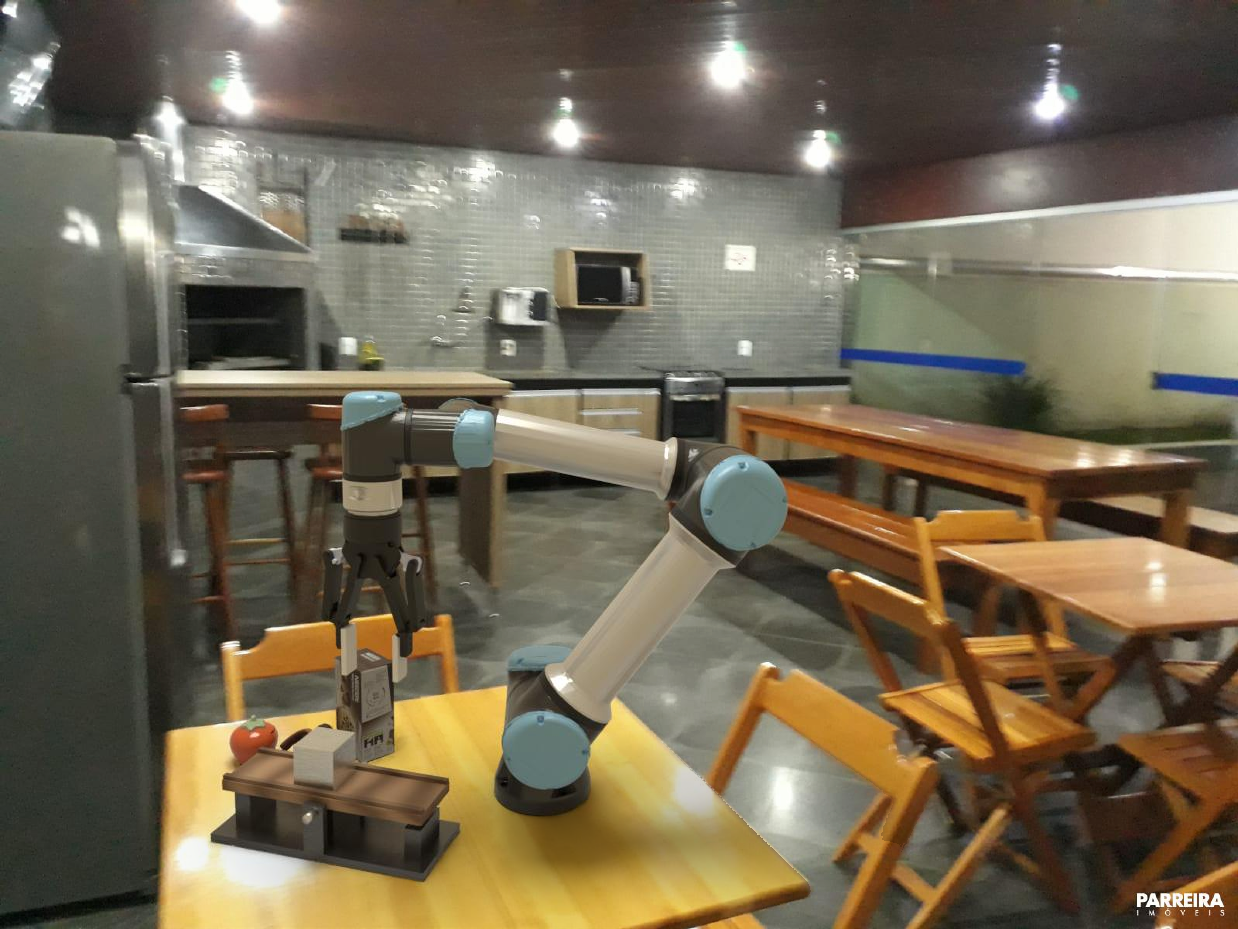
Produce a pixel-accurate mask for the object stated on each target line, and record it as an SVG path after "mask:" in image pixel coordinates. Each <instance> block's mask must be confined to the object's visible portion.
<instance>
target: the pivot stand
mask: <svg viewBox="0 0 1238 929" xmlns="http://www.w3.org/2000/svg"><path fill="white" fill-rule="evenodd" d="M359 763H362V764H368V761H367V762H366V761H361V762H360V761H359ZM368 765H369V764H368ZM234 808H235V809H234V810H235V812H234V813H233V814H232V815H231V816H230V817H229V818H228V819H227V820H225V821H223V822H222V824H220V825H219V826H218V827H216V829H214V830H213V831H212V832H211V833H210V842H211V843H217V844H222V845H227V846H232V845H234V847H238V848H244V849H249V850H253V851H254V850H255V851H260V852H264V853H270V854H275V855H280V856H285V857H291V858H297V859H300V860H307V861H312V862H316V863H323V864H328V865H332V866H337V867H344V868H348V869H354V870H360V871H363V872H364V871H365V872H369V873H375V874H380V875H386V876H391V877H395V878H401V879H406V880H407V879H408V880H412V881H418V882H422V883H424V882H425V880H426V878H427V877H428V876H429V874H430V873H431V871H432V870H433V869H434V868H435V866H436V865H437V863H438V861H439V860H440V859H441V857H443V855H444V853H445V852H446V851H447V849H448V848H449V847H450V845H451V844H452V843H453V841H454V840H455V838H456V837H457V836H458V834H459V833H460V831H461V823H460V822H455V821H450V820H443V819H441V818H440V815H441V814H440V811H441V810H440V807H439V806H437V807H436V808H435V810H434V811H433V812H432V813H431V815H430V816H429V817H428V818H427V820H426V821H425V822H424V823H423V825H422V826H417V825H412V824H406V823H401V822H395V821H390V820H384V819H379V818H373V817H368V816H362V815H357V814H351V813H346V812H341V811H335V810H330V809H327V804H321V803H315V802H310V801H306V802H305V803H304V804H303V805H302V804H297V803H291V802H286V801H280V800H275V799H269V798H264V797H258V796H253V795H247V794H242V793H236V792H234Z"/></svg>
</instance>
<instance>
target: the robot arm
mask: <svg viewBox="0 0 1238 929" xmlns="http://www.w3.org/2000/svg"><path fill="white" fill-rule="evenodd" d="M402 402H403V401H402V396H401V395H400V394H399V393H398V392H393V391H384V390H383V391H381V390H380V391H379V390H366V391H365V390H364V391H363V390H361V391H352V392H350V393H347V394H346V395H345V396H344V397H343V399H342V408H341V426H340V427H339V428H340V432H341V434H340V437H341V459H342V462H341V463H342V478H341V479H342V507H343V508H344V509H345V511H344V512H343V514H342V537H343V538H344V543H343V545H342V546H341V547H338V546H334V547H332V548H329V549H326V550H325V551H323V552H322V560H323V564H324V567H325V569H324V570H325V571H324V580H323V583H324V584H323V593H322V606H321V616H320V617H321V620H322V621H323V622H329V623H331V624H333V625H334V627H335V647H336V649H337V650H341V651H340V653H341V655H340V656H341V668H342V675H346V676H347V675H348V674H350V673H351V672H352V671H354V670H355V669H356V668H357V650H358V649H357V648H358V646H357V642H358V641H357V623H356V622H351V621H352V620H353V619H354V617H352V616H353V614H354V612H355V610H356V606H357V602H358V599H359V598H360V597H359V596H360V595H361V591H362V589H363V585H364V582H365V580H367V579H371V580H374V581H377V582H378V584H379V587H380V589H382V591H383V592H384V593H383V594H384V595H385V596H384V597H385V598H386V601H387V604H388V607H389V610H390V614H391V616H392V620H393V622H394V625H395V627H396V631H397V632H396V633H394V634H392V636H391V637H392V638H391V639H392V640H391V642H392V644H391V647H392V649H391V650H392V655H391V656H392V659H391V661H392V669H393V682H394V683H396V684H397V683H399V682H400V681H402V680H403V679H404V678H406V676H407V675H408V657H409V656H411V655H412V654H413V649H414V648H413V647H414V644H413V643H414V642H413V640H414V639H413V638H414V637H413V635H414V634H413V633H418V632H419V631H421V629H423V628H424V627H426V626H427V616H426V615H427V613H426V603H425V595H424V593H425V592H424V584H423V574H422V572H423V568H424V564H425V557H424V556H423V555H421V554H419V555H417V556H414V555H411V554H408V553H406V552H405V549H404V547H403V544H402V540H403V512H402V511H401V510H400V508H401V507H402V506H403V485H402V484H403V480H402V478H403V470H402V469H403V468H402V467H403V466H406V467H415V466H417V467H441V468H443V467H444V468H463V469H464V470H465V469H467V470H468V469H470V468H485V467H486V468H487V467H490V466H491V465H492V463H493V461H494V460H497V461H500V462H501V461H502V462H506V463H511V464H515V465H520V466H525V467H526V466H527V467H530V468H536V469H539V470H540V469H541V470H546V471H551V472H556V473H561V474H566V475H571V476H575V477H579V478H585V479H590V480H595V481H601V482H604V483H610V484H615V485H620V486H624V487H625V486H626V487H631V488H634V489H640V490H644V491H649V492H653V493H655V494H656V496H657V497H658V499H659V500H661V501H665V502H670V503H674V504H675V505H674V507H672V509H671V510H670V511H669V513H668V522H669V529H668V532H667V533H666V534H665V535H664V536H663V537H662V539H661V540H660V541H659V543H658V544H657V545H656V547H655V548H653V550H652V551H651V553H650V554H649V555H648V556H647V558H646V559H645V560H644V561H643V563H642V564H641V565H640V566H639V568H638V569H637V570H636V571H635V573H634V574H633V575H632V576H631V577H630V579H629V580H628V581H627V583H626V584H625V585H623V586H624V587H622V588H621V590H620V592H618V594H617V595H616V596H615V598H614V599H613V600H612V601H611V602H610V604H609V605H608V606H607V608H606V609H605V610H604V611H603V613H601V615H600V616H599V617H598V618H597V620H596V621H595V623H594V624H593V625H592V626H591V627H590V629H589V630H588V631H587V632H586V633H585V635H584V636H583V637H582V638H581V640H580V641H579V642H578V643H577V645H576V646H575V647H574V648H570V647H567V646H560V645H550V644H549V645H547V644H545V645H543V644H541V645H531V646H524V647H521V648H518V649H515V650H513V651H512V652H511V653H510V654H509V656H508V658H507V667H506V669H505V670H506V672H507V674H506V675H507V676H506V677H507V678H506V680H507V683H506V685H507V686H506V699H505V700H506V701H505V712H504V724H503V730H502V735H501V749H502V754H501V758H500V760H499V762H498V766H497V768H496V771H495V774H494V784H493V786H494V790H493V791H494V792H493V793H494V796H495V797H496V799H497V801H498V802H499V803H500V804H501V805H503V806H504V807H505V808H507V809H509V810H511V811H514V812H517V813H521V814H524V815H530V816H531V815H532V816H551V815H558V814H563V813H566V812H569V811H572V810H574V809H576V808H577V807H579V806H581V805H582V804H583V803H584V802H585V801H587V799H588V798H587V797H589V796H590V792H591V773H590V769H589V766H588V763H589V760H590V757H591V749H592V748H591V746H592V744H593V743H594V741H595V740H596V739H597V738H598V737H599V735H600V734H601V733H602V732H603V731H604V729H605V728H606V727H607V726H608V724H609V723H610V722H611V721H612V718H613V716H612V706H611V704H612V702H613V701H614V699H615V698H616V697H617V696H618V695H619V693H620V692H621V690H622V689H624V686H626V684H628V682H629V681H630V679H631V678H633V676H634V674H635V673H637V671H638V670H639V668H640V667H641V666H642V665H643V664H644V662H645V661H646V660H647V659H648V657H649V656H650V655H651V654H652V652H653V651H654V650H655V649H656V648H657V646H658V645H659V644H660V643H661V642H662V640H663V639H664V638H665V636H666V635H667V634H668V633H669V631H670V630H671V629H672V628H673V626H674V625H675V624H676V623H677V622H678V620H680V618H681V617H682V616H683V614H684V613H685V612H686V611H687V609H688V608H689V606H690V605H692V604H693V602H694V601H695V599H696V598H697V597H698V596H699V595H700V593H702V591H703V589H704V588H705V587H706V586H707V585H708V583H709V582H710V581H711V580H712V579H713V578H714V576H715V575H716V574H717V572H718V571H720V570H725V569H735V568H736V567H737V566H738V564H739V563H740V562H741V561H742V559H744V557H745V556H746V555H747V553H748V552H749V551H752V550H755V549H756V550H757V549H759V548H762V547H764V546H765V545H767V544H768V543H770V542H771V541H772V540H773V539H774V538H776V536H777V535H778V534H779V533H780V532H781V529H782V528H783V527H784V523H785V521H786V519H787V515H788V509H789V508H788V507H789V503H788V502H789V501H788V495H787V491H786V487H785V484H784V483H783V481H782V479H781V478H780V477H779V475H778V473H776V471H775V470H774V469H773V468H772V467H771V466H770V465H769V464H768V463H767V462H765V461H764V460H762V459H760V458H759V457H757V456H754V455H752V454H751V453H750V452H748V451H746V450H745V449H743V448H741V447H738V446H736V445H731V444H726V443H718V442H717V443H714V442H704V441H697V440H690V439H685V438H684V439H683V438H680V437H673V436H672V437H670V438H668V440H667V439H666V441H659V440H655V439H650V438H645V437H639V436H635V435H631V434H625V433H621V432H616V431H612V430H605V429H602V428H601V429H600V428H596V427H591V426H588V425H582V424H577V423H573V422H568V421H563V420H558V419H553V418H548V417H543V416H538V415H534V414H529V413H524V412H521V411H520V412H519V411H515V410H511V409H510V410H509V409H503V408H497V407H493V406H489V405H485V404H479V403H477V402H476V401H474V400H473V399H468V398H461V397H457V398H452V399H449V400H447V401H446V402H444V403H443V404H441V405H440V406H439V407H438V408H437V409H435V408H434V409H432V408H424V409H423V408H417V409H416V408H409V407H404V404H403V403H402ZM344 561H346V562H347V564H348V565H349V567H350V568H349V570H348V571H349V572H348V573H347V577H346V583H345V587H344V591H343V594H342V582H343V569H344ZM401 564H402V571H403V572H405V573H404V583H405V591H406V596H405V593H404V591H403V587H402V584H401V582H400V580H401V576H400V573H399V570H398V567H399V565H401ZM341 594H342V596H341ZM580 804H581V805H580Z"/></svg>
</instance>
